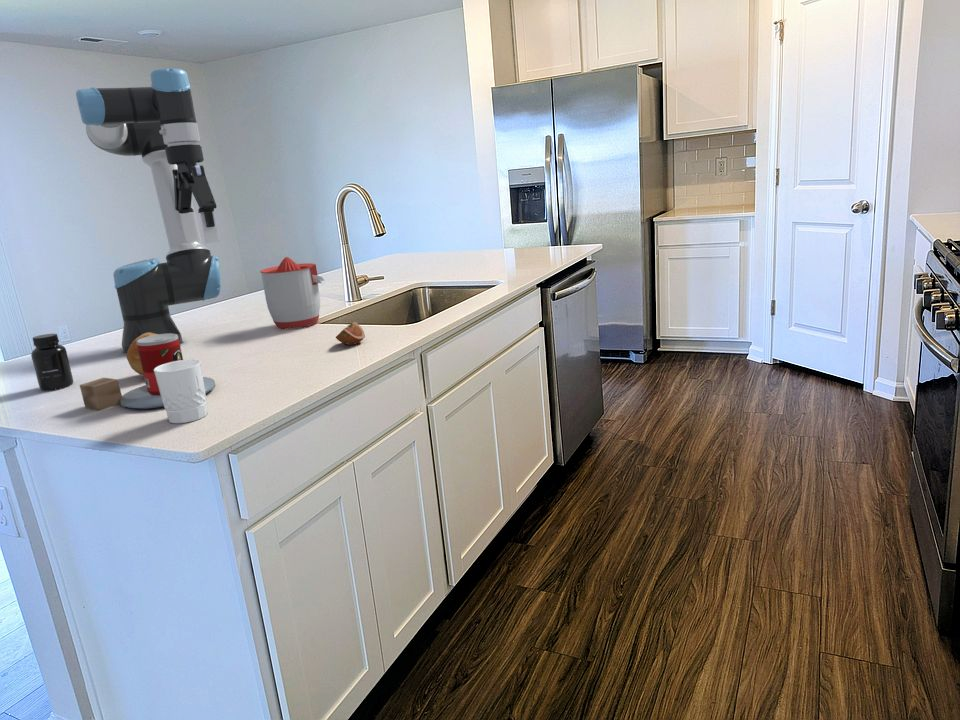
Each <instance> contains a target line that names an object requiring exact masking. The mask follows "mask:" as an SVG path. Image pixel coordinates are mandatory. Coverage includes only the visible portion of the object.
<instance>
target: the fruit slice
mask: <svg viewBox="0 0 960 720" xmlns="http://www.w3.org/2000/svg"><path fill="white" fill-rule="evenodd" d="M346 326H347V327H344V328H343V329H342V330H341V331H340V332H339V333H338V334H337V335H336V336H335V339H336V340H337V341H339V342H340V343H341V344H346V345H357V344H358V343H361V342H362V341H363V340H364V339H365V336H366V335H365V331H364V330H363V328H362V326H360V325H359V323H358V322H357V321H352V323H350V324H348V325H346Z"/></svg>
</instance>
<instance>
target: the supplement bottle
mask: <svg viewBox="0 0 960 720" xmlns="http://www.w3.org/2000/svg"><path fill="white" fill-rule="evenodd" d="M32 342H33V347H35V348H34V349H33V350H32V351H31V352H30V353H31V354H30V355H31V360H32V364H33V368H34V372H35V377H36V380H37V383H38V388H39V389H40V390H41V391H43V390H51V391H56V390H55V389H57V390H61V389H60V388H62V389H66V388H68V387H71V386H72V385H73V384H74V377H73V373H72V370H71V365H70V361H69V356H68V351H67V349H66V347H65V346H63V345H61V344H59V342H60V340H59V336H58V334H57V333H45V334H40V335H35V336H33V337H32ZM70 385H71V386H70ZM65 387H66V388H65Z"/></svg>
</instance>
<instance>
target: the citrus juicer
mask: <svg viewBox="0 0 960 720" xmlns="http://www.w3.org/2000/svg"><path fill="white" fill-rule="evenodd" d="M259 272H260V273H261V278H262V285H263V290H264V296H265V302H266V306H267V309H268V312H269V314H270V316H271V319H272V322H273V323H274V325H275V327H276V328H278V329H280V330H282V329H283V330H288V329H289V330H290V329H298V328H302V329H304V327H306V328H309V327H310V326H312V325H315V324H317V323H318V321H319V317H320V312H321V311H320V309H321V298H320V297H321V295H320V289H319V284H325V280H324V277H323V276H320V275H318V270H317V264H316V263H309V262H308V263H296V262H295V261H294V260H293V259H292V258H290V257H288V256H285V257H284V258H283V259H282V261H280V262H279V265H278V266H272V267H268V268H267V267H266V268H263V269H261V270H260V271H259Z"/></svg>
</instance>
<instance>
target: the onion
mask: <svg viewBox="0 0 960 720" xmlns="http://www.w3.org/2000/svg"><path fill="white" fill-rule="evenodd" d="M152 335H158V334H155V333H151V332H148V333H145V334H142V335H141V336H139V337H137V338H136V339H135V340H134V341H133V342H132V344H131V345H130V347H129V349H128V352H127V353H126V360H127V362H128V365H129V366H130V368H131V369H132V370H133V371H134V372H135V373H137V374H138V375H140V376H143V377H144V374H143V370H142V365H141V361H140V357H139V353H138V348H137V340H139V339H141V338H144V337H148V336H152Z"/></svg>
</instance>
